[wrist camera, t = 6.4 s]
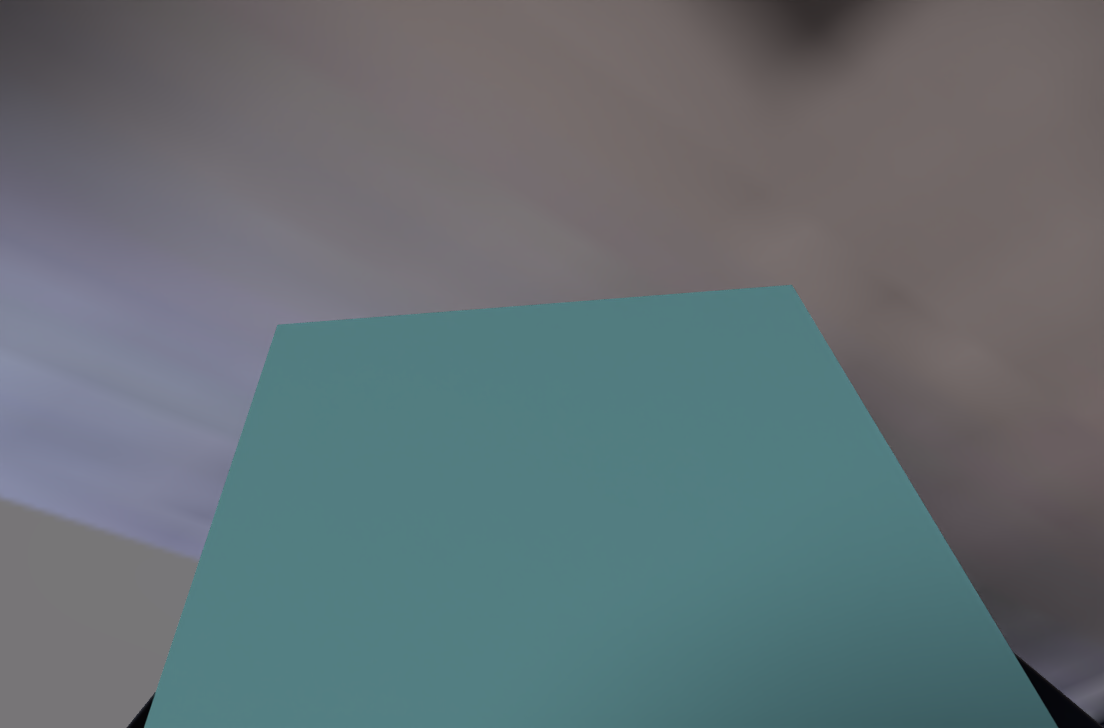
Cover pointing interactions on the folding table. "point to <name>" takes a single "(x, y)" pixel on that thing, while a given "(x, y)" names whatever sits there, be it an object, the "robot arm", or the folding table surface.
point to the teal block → (578, 535)
